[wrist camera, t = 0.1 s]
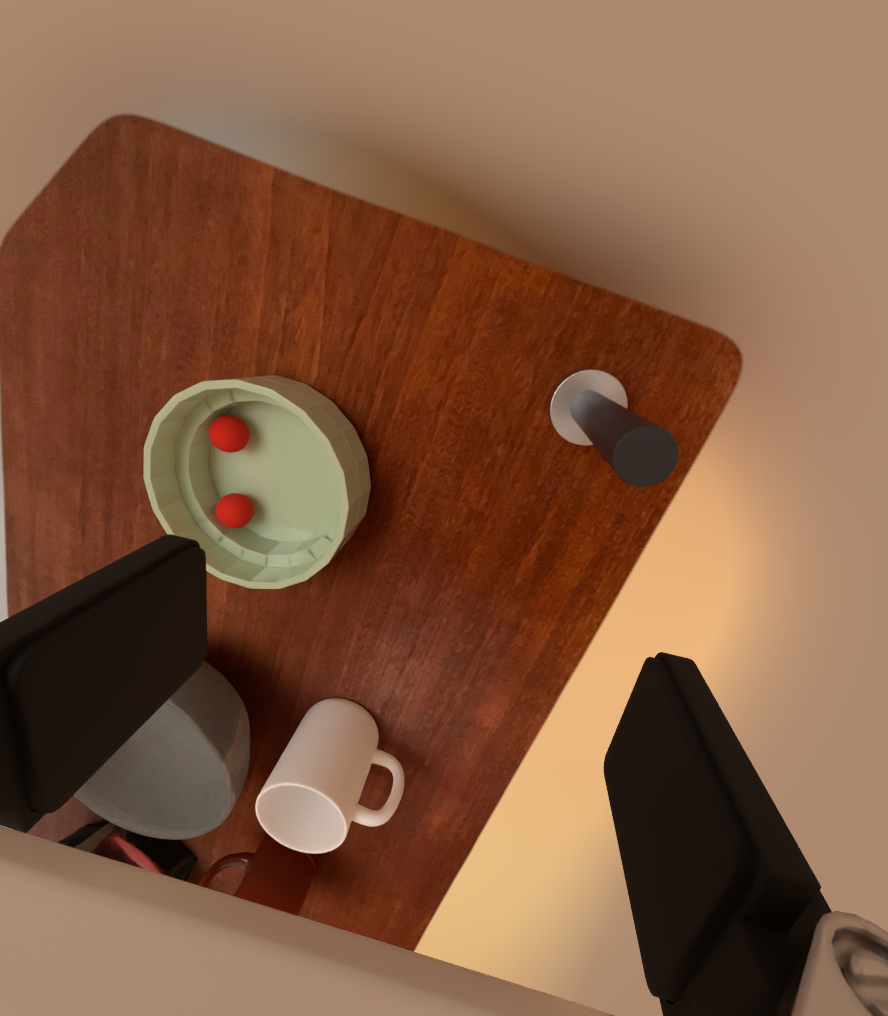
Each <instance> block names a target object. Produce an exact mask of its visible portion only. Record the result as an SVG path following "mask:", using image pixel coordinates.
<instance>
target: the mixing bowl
mask: <svg viewBox="0 0 888 1016" xmlns="http://www.w3.org/2000/svg"><path fill="white" fill-rule="evenodd" d="M224 415H232V416H236V417H238V418H240V419H241V420H243V421H244V422H245V423H246V425H247V426H248V429H249V432H250V438H249V442H248V444H247V445H246V446H245V447H244V448H243V449H242V450H240V451H238V452H233V453H228V452H224V451H221V450H219V449H218V448H216V447H215V446H214V445H213V444H212V442H211V440H210V438H209V428H210V425H211V423H212V422H213V421H214V420H215V419H216V418H218V417H220V416H224ZM144 481H145V485H146V488H147V492H148V495H149V499H150V502H151V506H152V509H153V511H154V513H155V515H156V516H157V518H158V520H159V521H160V523H161V525H162V526H163V528H164V530H165V531H166V533H167V534H171V535H176V536H180V537H184V538H189V539H193V540H196V541H197V542H198V543H199V545H200V548H201V549H203V550H204V551H205V553H206V571H208V572H209V573H211V574H213V575H214V576H216V577H217V578H219V579H221V580H225V581H228V582H231V583H234V584H237V585H241V586H244V587H247V588H255V589H280V588H284V587H287V586H290V585H293V584H297V583H300V582H303V581H306V580H308V579H309V578H310V577H312V576H313V575H314V574H315V573H317V572H318V571H319V570H321V569H322V568H323V567H325V566H326V565H327V564H328V563H329V562H330V561H331V560H332V559H333V558H334V556H335V555H336V554H337V553H338V552H339V551H340V550H341V548H342V547H343V546H344V545H345V544H346V543H347V542H348V540H349V539H350V538H351V537H352V536H353V534H354V532H355V531H356V529H357V528H358V526H359V524H360V523H361V521H362V519H363V518H364V516H365V514H366V509H367V504H368V499H369V495H370V490H371V481H370V473H369V465H368V457H367V455H366V452H365V450H364V448H363V446H362V443H361V441H360V439H359V437H358V434H357V432H356V430H355V428H354V426H353V425H352V424H351V423H350V421H349V420H348V419H347V418H346V417H345V416H344V414H343V413H342V412H341V411H340V410H339V408H338V407H337V406H336V405H335V404H334V403H333V402H332V401H331V400H330V399H328V398H327V397H325V396H323V395H322V394H320V393H319V392H317V391H316V390H314V389H313V388H311V387H310V386H308V385H307V384H305V383H302V382H298V381H295V380H291V379H288V378H284V377H281V376H277V375H265V376H249V377H239V378H229V379H220V380H210V381H203V382H200V383H198V384H196V385H194V386H192V387H190V388H188V389H186V390H183V391H181V392H179V393H177V394H175V395H174V396H173V397H172V398H171V399H170V400H169V402H168V403H167V404H166V405H165V406H164V407H163V408H162V410H161V411H160V412H159V413H158V414H157V415H156V416H155V418H154V420H153V423H152V425H151V428H150V431H149V434H148V437H147V439H146V442H145V445H144ZM231 493H239V494H242V495H244V496H246V497H247V498H249V499H250V500H251V502H252V504H253V507H254V515H253V517H252V519H251V521H250V522H249V523H248V524H246V525H245V526H243V527H240V528H230V527H227V526H225V525H223V524H222V523H221V522H220V521H219V520H218V518H217V516H216V505H217V503H218V502H219V500H220V499H221V498H222V497H224V496H225V495H228V494H231Z"/></svg>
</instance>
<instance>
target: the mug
mask: <svg viewBox="0 0 888 1016" xmlns="http://www.w3.org/2000/svg"><path fill="white" fill-rule="evenodd" d="M319 857H320V853H317V854H313V853H304V852H300V851H296V850H293V849H291V848H288V847H286V846H284V845H282V844H281V843H279V842H278V841H276V840H275V839H274V838H272V837H271V836H270V835H269V834H267V835H266V836H265V837H264V838H263V840H262V842H261V843H260V845H259V846H258V848H257V850H256V852H255V853H248V852H242V853H235V854H230V855H227V856H225V857H223V858H221V859H220V860H218V861H217V862H216V863H214V864H213V865H212V866H211V867H210V868H209V869H208V871H207V872H206V873H205V874H204V876H203V877H202V879H201V880H200V882H199V883H198V886H201V887H205V888H206V887H207V886H208V884H209V883H210V881H211V880H212V879H213V878H214V876H215V875H216V874H217V873H219V872H220V871H221V870H223V869H225V868H227V867H239V868H242V869H243V870H244V871H245V874H244V877H243V879H242V881H241V883H240V885H239V887H238V889H237V890H236V892H235V894H234V895H233V896H234V897H237V898H241V899H244V900H247V901H251V902H254V903H257V904H260V905H264V906H267V907H270V908H273V909H277V910H280V911H283V912H286V913H290V914H293V915H296V916H298V915H299V912H300V910H301V908H302V905H303V903H304V901H305V898H306V896H307V894H308V891H309V889H310V886H311V883H312V881H313V878H314V877H315V875H316V871H317V867H318V864H319Z"/></svg>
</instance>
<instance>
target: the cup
mask: <svg viewBox="0 0 888 1016" xmlns="http://www.w3.org/2000/svg"><path fill="white" fill-rule="evenodd" d="M378 740H379V734H378V728H377V725H376V723H375V721H374V719H373V717H372V716H371V715H370V714H369V712H368V711H367V710H365V709H364V708H363V707H362V706H360V705H358V704H357V703H355V702H352V701H349V700H346V699H341V698H330V699H326V700H322V701H320V702H318V703H316V704H315V705H313V706H312V707H311V708H310V709H309V710H308V712H307V713H306V715H305V716H304V718H303V719H302V721H301V723H300V724H299V726H298V728H297V730H296V731H295V733H294V735H293V737H292V738H291V740H290V742H289V743H288V745H287V747H286V749H285V750H284V752H283V754H282V756H281V757H280V759H279V761H278V763H277V764H276V766H275V768H274V769H273V771H272V773H271V775H270V776H269V778H268V780H267V782H266V783H265V785H264V787H263V789H262V790H261V792H260V794H259V795H258V797H257V800H256V805H255V809H256V815H257V818H258V820H259V822H260V824H261V826H262V827H263V828H264V830H265V831H266V832H267V833H268V834H269V835H270V836H271V837H272V838H274V839H275V840H276V841H278V842H279V843H281V844H282V845H284V846H286V847H288V848H291V849H293V850H296V851H300V852H304V853H313V854H317V853H325V852H329V851H332V850H334V849H336V848H337V847H338V846H340V845H341V844H342V843H343V841H344V840H345V838H346V835H347V833H348V830H349V827H350V823H351V821H354V822H357V823H359V824H362V825H366V826H379V825H382V824H384V823H385V822H387V821H388V820H389V819H390V818H391V816H392V815H393V813H394V812H395V810H396V808H397V807H398V804H399V802H400V800H401V797H402V793H403V789H404V772H403V769H402V766H401V764H400V763H399V762H398V760H397V759H396V758H395V757H393V756H392V755H390V754H389V753H386V752H384V751H382V750H379V749H377V745H378ZM372 763H373V764H378V765H381V766H384V767H386V768H388V769H389V770H390V771H391V772H392V774H393V787H392V791H391V794H390V796H389V798H388V800H387V802H386V804H385V805H384V806H383V807H382V808H381V809H380V810H378V811H374V810H370V809H368V808H366V807H363V806H361V805H359V804H358V801H359V798H360V795H361V792H362V790H363V787H364V784H365V781H366V778H367V775H368V772H369V769H370V766H371V764H372Z"/></svg>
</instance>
